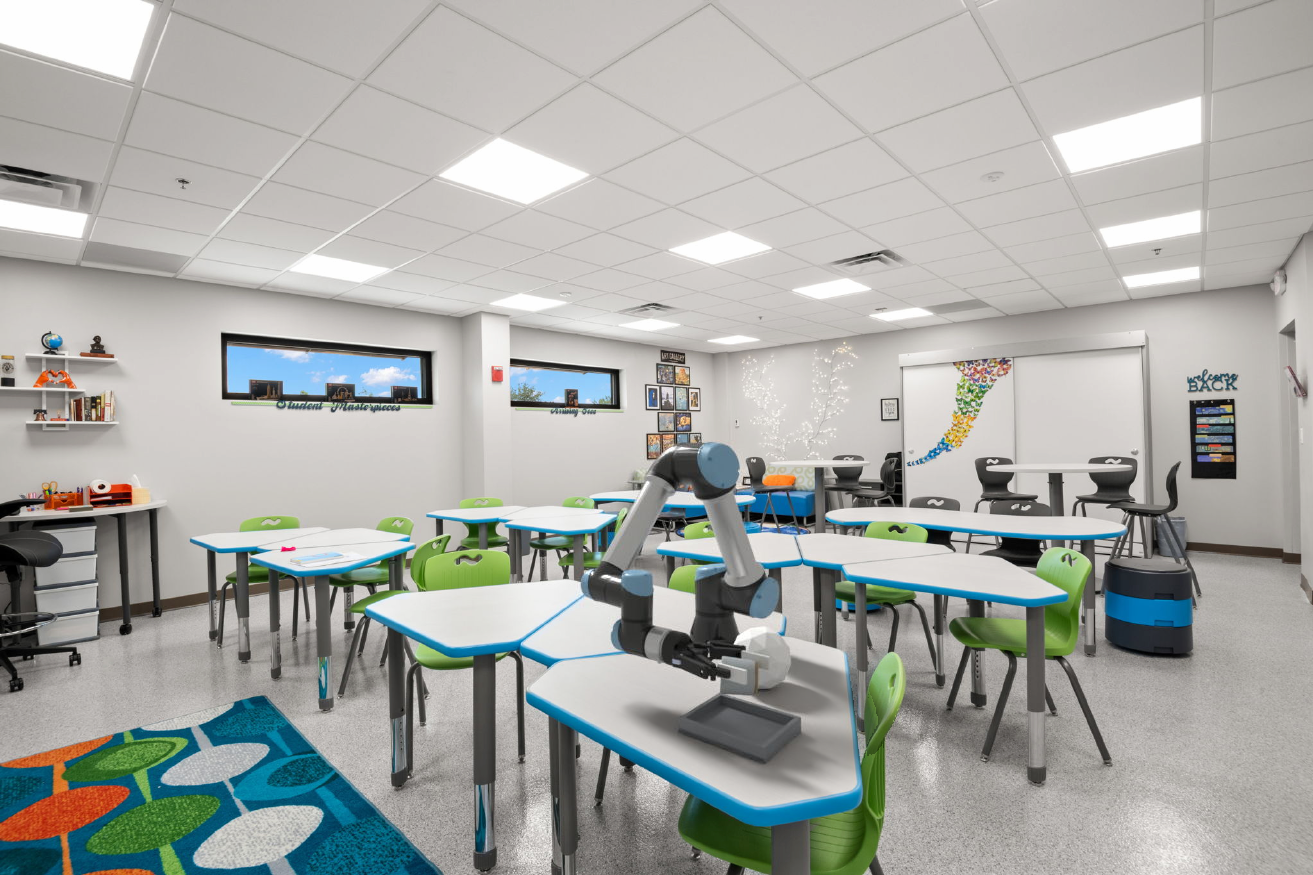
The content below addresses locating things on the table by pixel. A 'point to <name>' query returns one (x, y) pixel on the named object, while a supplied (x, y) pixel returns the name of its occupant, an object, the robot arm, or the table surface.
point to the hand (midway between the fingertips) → (758, 670)
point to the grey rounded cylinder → (738, 688)
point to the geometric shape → (767, 654)
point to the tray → (740, 727)
